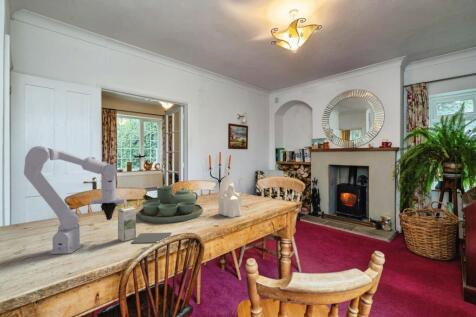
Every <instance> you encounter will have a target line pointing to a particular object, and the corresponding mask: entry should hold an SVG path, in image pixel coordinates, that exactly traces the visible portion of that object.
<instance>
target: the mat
mask: <svg viewBox="0 0 476 317" xmlns="http://www.w3.org/2000/svg"><path fill="white" fill-rule="evenodd" d="M171 235H172V232H143V233H142V232H140V233H139V234H138V235H137V236H136V238H135V239H132V241H131V242H130V243H131V244H132V245H134V244H135V245H136V244H156V243H155V242H157V241H160V240H162V239H164V238H167V237H169V238H170V236H171Z"/></svg>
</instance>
